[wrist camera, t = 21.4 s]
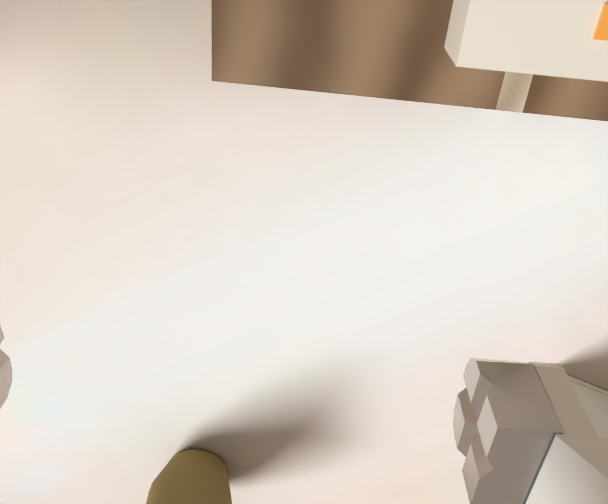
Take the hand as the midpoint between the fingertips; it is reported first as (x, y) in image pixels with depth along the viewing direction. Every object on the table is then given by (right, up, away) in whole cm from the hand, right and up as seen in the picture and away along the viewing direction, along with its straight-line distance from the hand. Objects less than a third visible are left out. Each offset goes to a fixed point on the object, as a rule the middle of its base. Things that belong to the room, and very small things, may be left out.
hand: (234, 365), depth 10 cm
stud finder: (+14, +16, +21) cm, 30 cm away
